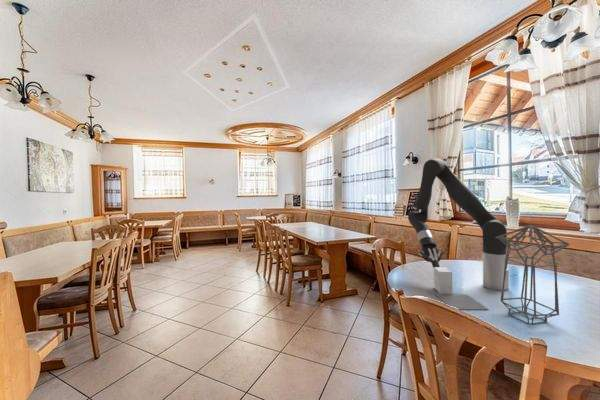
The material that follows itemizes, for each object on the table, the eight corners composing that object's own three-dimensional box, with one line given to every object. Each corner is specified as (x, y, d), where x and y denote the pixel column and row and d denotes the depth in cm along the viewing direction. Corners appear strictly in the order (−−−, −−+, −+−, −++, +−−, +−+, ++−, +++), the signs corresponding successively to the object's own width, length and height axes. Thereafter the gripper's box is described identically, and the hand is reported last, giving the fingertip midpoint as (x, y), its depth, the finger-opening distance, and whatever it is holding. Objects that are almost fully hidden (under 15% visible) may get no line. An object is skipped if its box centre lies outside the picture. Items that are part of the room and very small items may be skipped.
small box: (452, 294, 116) (452, 272, 116) (439, 293, 117) (439, 271, 117) (446, 288, 124) (446, 267, 124) (434, 287, 125) (433, 266, 125)
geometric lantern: (524, 307, 102) (527, 222, 100) (570, 329, 86) (574, 228, 85) (490, 310, 100) (492, 223, 98) (530, 332, 84) (534, 229, 83)
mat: (466, 295, 115) (466, 294, 115) (488, 310, 100) (488, 309, 100) (435, 294, 116) (435, 294, 116) (452, 309, 101) (452, 308, 101)
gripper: (415, 236, 136) (425, 264, 124) (440, 236, 135) (453, 264, 123) (412, 244, 142) (421, 272, 130) (436, 243, 141) (448, 272, 129)
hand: (437, 268), depth 126 cm, fingers closed
